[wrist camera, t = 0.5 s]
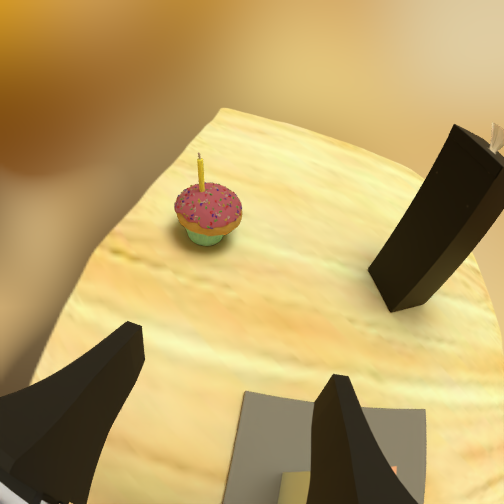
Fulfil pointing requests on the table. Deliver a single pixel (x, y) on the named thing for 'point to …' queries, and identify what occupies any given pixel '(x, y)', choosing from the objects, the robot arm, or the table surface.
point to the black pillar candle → (443, 219)
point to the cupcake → (208, 210)
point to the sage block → (297, 487)
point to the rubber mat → (299, 446)
